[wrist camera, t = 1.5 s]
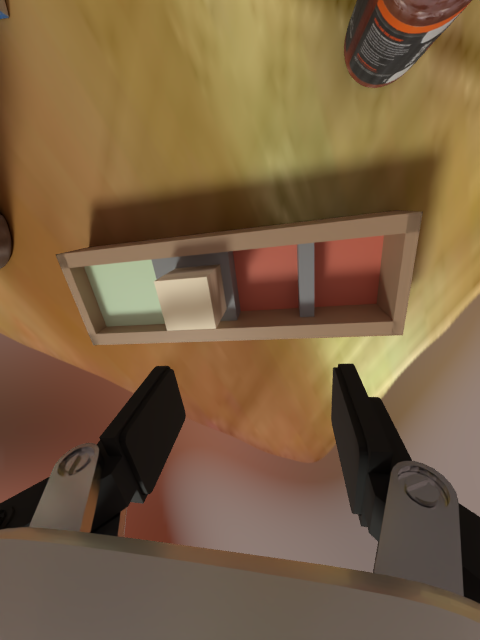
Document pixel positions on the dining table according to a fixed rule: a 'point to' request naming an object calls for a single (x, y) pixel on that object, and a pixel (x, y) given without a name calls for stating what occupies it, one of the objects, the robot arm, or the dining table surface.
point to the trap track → (257, 280)
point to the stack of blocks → (3, 10)
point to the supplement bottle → (394, 36)
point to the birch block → (192, 297)
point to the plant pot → (4, 242)
